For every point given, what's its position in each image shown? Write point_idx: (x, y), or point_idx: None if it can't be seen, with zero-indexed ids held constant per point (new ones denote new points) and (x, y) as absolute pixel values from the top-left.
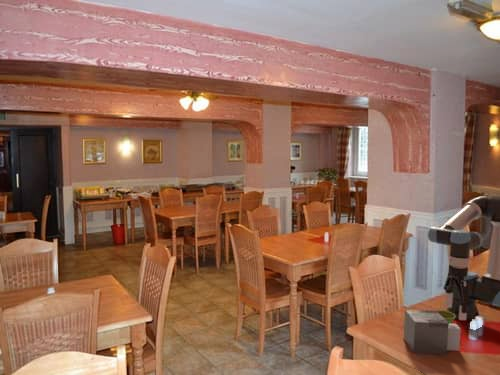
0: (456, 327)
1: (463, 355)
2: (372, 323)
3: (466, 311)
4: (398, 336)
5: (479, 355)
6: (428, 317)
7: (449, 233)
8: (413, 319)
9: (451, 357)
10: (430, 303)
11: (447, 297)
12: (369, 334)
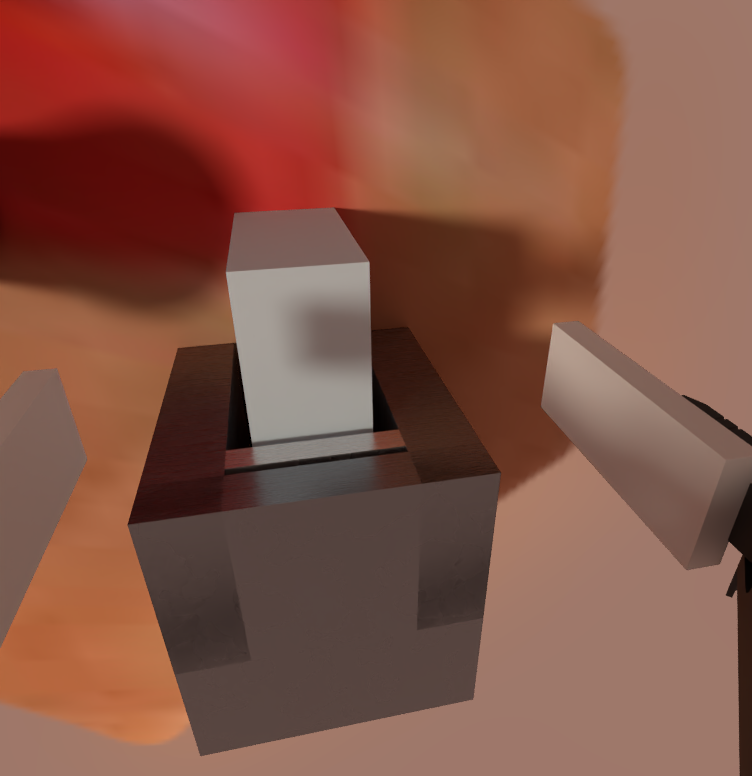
0: (339, 297)
1: (412, 204)
2: (17, 675)
3: (717, 414)
4: None
5: (404, 50)
6: (365, 614)
7: None
8: (423, 707)
9: (445, 307)
10: None
11: (12, 583)
12: None
